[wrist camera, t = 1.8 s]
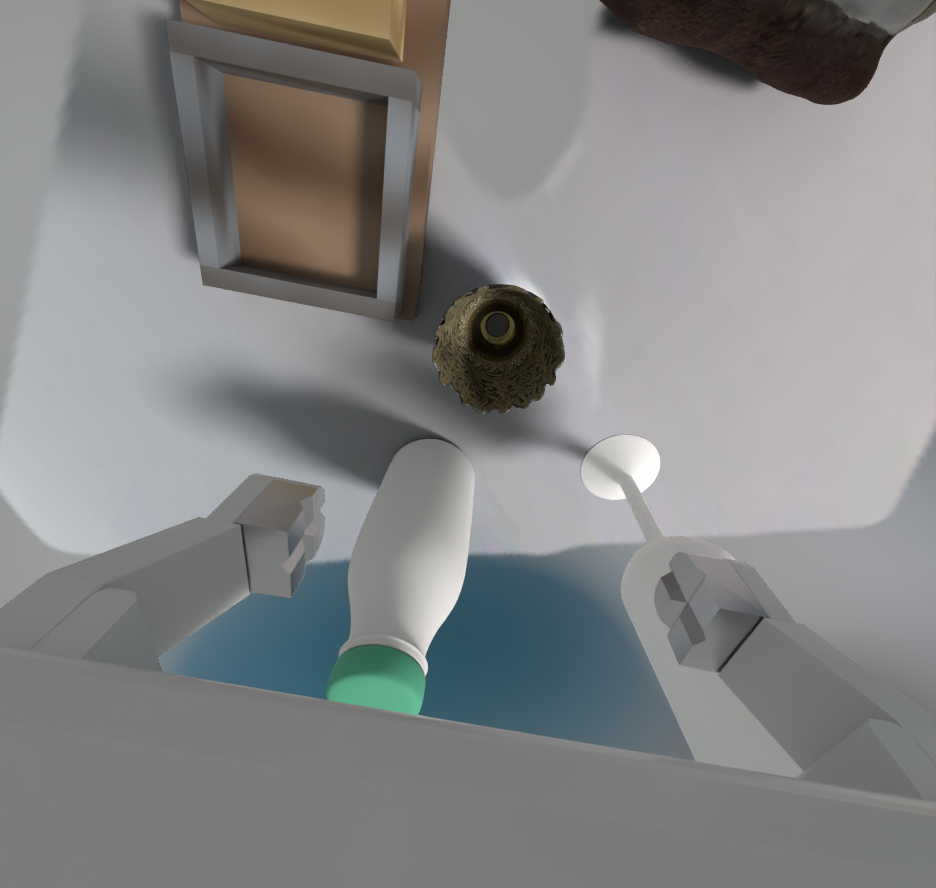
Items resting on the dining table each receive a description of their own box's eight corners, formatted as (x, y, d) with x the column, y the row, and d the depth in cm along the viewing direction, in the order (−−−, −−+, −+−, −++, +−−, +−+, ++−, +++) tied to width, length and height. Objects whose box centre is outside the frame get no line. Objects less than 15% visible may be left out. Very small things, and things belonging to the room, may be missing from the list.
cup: (427, 316, 29) (405, 343, 22) (507, 246, 27) (511, 253, 20) (488, 391, 32) (486, 437, 25) (567, 333, 29) (589, 367, 22)
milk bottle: (379, 444, 35) (259, 662, 17) (464, 428, 34) (427, 647, 16) (405, 512, 38) (328, 752, 21) (483, 500, 37) (471, 745, 20)
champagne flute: (677, 451, 33) (984, 835, 12) (631, 509, 36) (815, 893, 15) (606, 422, 32) (807, 781, 11) (566, 484, 36) (666, 854, 15)
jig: (189, -63, 21) (117, -131, 17) (451, -6, 21) (440, -60, 17) (228, 280, 29) (185, 288, 25) (416, 316, 29) (404, 330, 25)
